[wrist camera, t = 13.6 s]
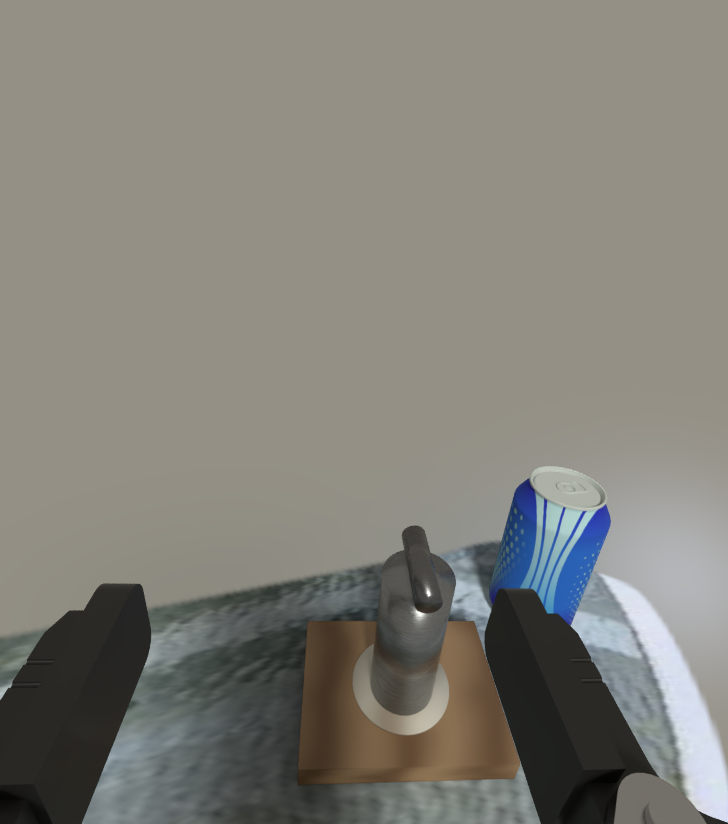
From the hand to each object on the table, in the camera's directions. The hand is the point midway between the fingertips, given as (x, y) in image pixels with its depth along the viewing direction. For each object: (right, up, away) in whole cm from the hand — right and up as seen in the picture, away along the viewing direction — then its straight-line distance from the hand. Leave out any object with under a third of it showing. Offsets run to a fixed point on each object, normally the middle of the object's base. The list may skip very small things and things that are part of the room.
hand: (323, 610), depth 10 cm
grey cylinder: (+4, -18, +27) cm, 32 cm away
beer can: (+18, -17, +37) cm, 44 cm away
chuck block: (+4, -20, +28) cm, 34 cm away
